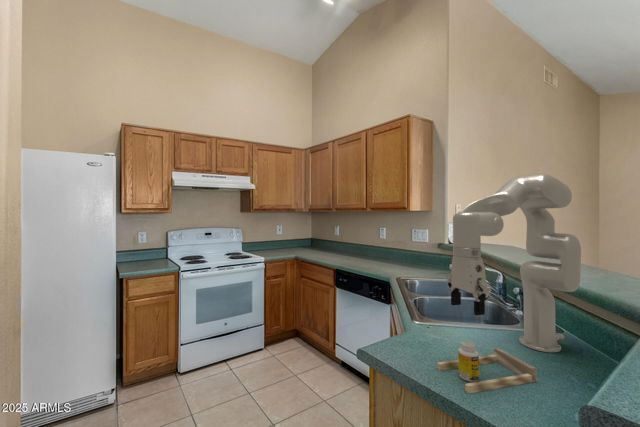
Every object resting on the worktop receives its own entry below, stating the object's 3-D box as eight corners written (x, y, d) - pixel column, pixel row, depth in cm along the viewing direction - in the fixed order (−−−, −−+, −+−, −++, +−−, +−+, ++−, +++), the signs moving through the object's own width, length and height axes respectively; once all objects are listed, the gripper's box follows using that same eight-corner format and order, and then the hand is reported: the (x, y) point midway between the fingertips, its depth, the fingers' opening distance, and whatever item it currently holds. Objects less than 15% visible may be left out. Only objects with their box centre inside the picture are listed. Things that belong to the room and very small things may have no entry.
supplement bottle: (472, 385, 83) (472, 349, 84) (454, 376, 88) (454, 342, 88) (482, 379, 87) (482, 344, 87) (464, 370, 91) (464, 338, 91)
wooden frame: (499, 359, 98) (498, 347, 98) (537, 381, 85) (537, 367, 85) (437, 368, 92) (437, 356, 92) (468, 393, 79) (468, 379, 79)
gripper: (500, 256, 80) (501, 318, 80) (457, 249, 97) (457, 300, 97) (477, 257, 79) (478, 320, 78) (437, 250, 96) (438, 302, 95)
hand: (467, 309), depth 88 cm, fingers open, 9 cm apart
